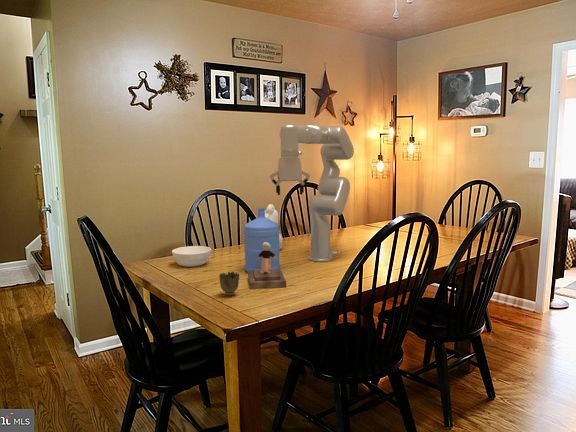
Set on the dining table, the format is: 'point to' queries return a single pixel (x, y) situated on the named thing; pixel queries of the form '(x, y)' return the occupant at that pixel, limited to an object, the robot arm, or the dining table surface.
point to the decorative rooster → (273, 219)
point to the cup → (229, 283)
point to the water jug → (261, 241)
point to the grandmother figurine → (266, 258)
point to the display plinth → (267, 283)
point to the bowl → (191, 255)
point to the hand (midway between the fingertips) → (289, 194)
